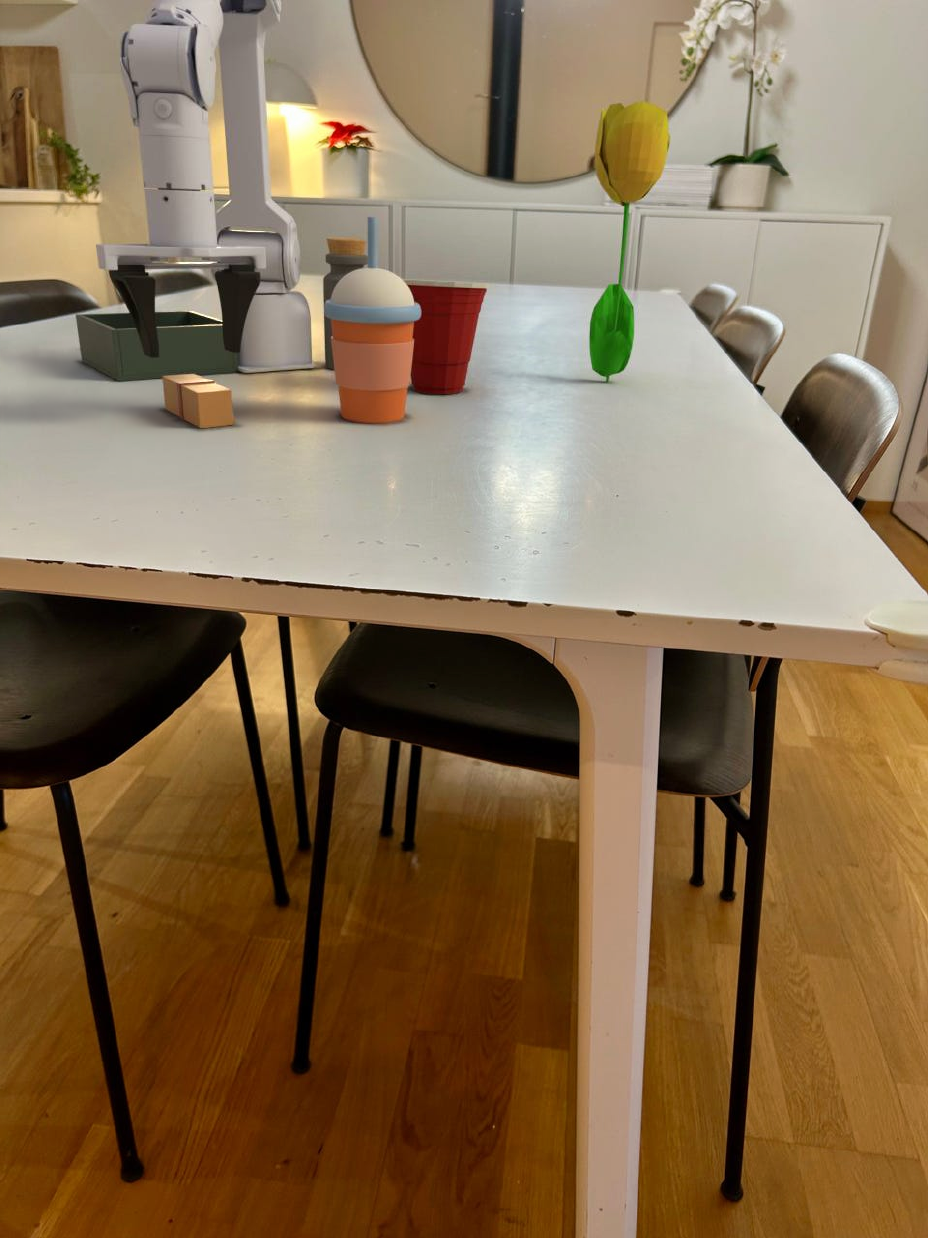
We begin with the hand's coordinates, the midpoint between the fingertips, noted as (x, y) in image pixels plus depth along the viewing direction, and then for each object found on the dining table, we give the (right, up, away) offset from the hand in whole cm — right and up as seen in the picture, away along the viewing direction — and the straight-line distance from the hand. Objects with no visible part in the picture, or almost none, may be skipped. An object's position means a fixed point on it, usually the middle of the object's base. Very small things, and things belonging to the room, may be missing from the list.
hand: (193, 353), depth 83 cm
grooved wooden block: (0, -5, +3) cm, 6 cm away
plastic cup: (+22, +2, +20) cm, 30 cm away
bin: (-12, +6, +26) cm, 29 cm away
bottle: (+10, +7, +31) cm, 34 cm away
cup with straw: (+16, -5, +6) cm, 18 cm away
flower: (+43, +5, +28) cm, 51 cm away
